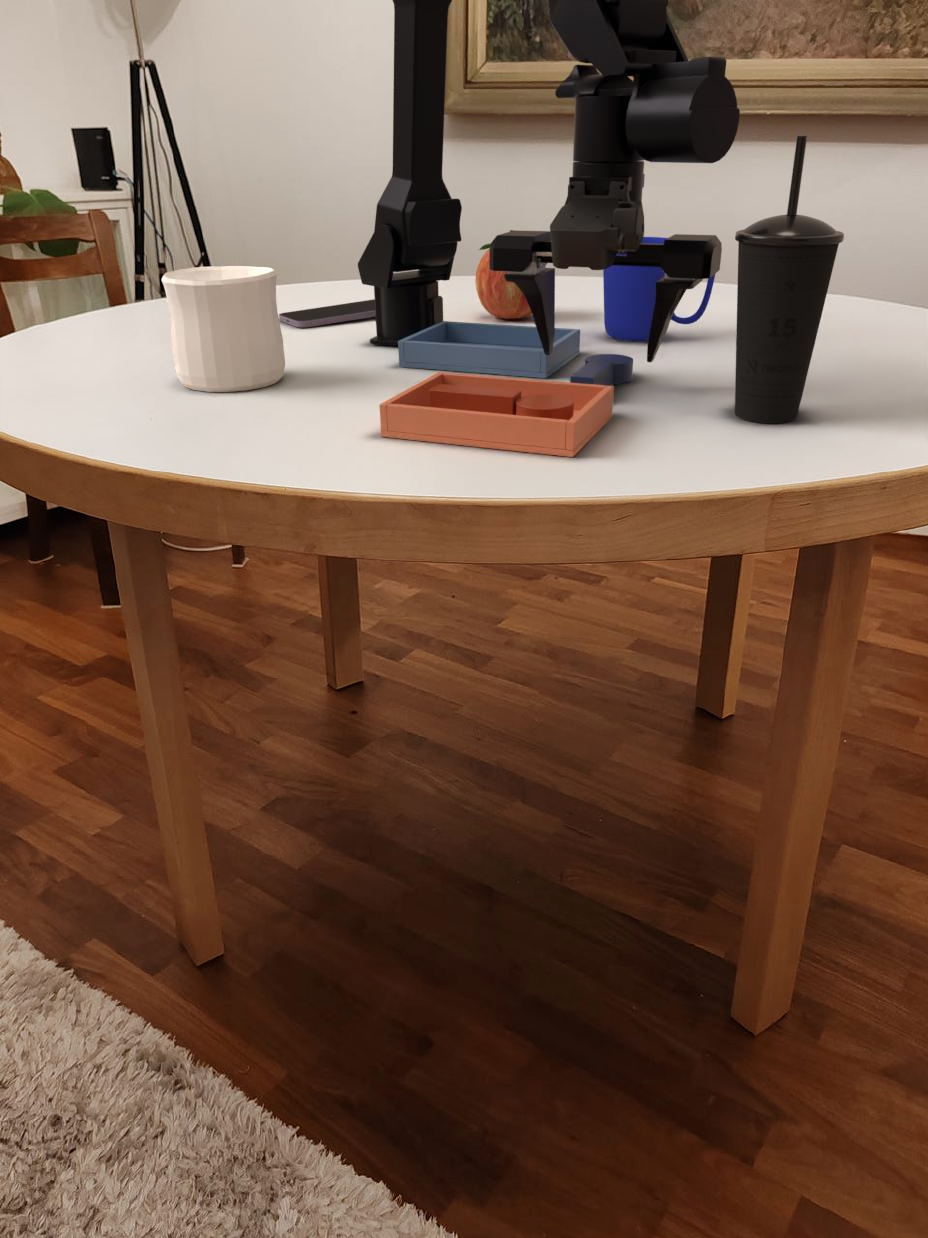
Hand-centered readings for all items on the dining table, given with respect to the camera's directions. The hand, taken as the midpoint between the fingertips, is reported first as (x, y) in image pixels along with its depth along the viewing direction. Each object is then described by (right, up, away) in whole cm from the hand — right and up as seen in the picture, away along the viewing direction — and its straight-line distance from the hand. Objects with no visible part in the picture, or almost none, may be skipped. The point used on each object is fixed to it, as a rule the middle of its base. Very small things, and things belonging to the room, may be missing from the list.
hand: (598, 357), depth 84 cm
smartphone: (-27, +14, +35) cm, 46 cm away
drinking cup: (+12, -7, -8) cm, 16 cm away
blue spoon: (0, -2, +2) cm, 3 cm away
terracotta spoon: (-9, -8, -10) cm, 15 cm away
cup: (-34, -1, +5) cm, 34 cm away
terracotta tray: (-9, -8, -9) cm, 15 cm away
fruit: (-6, +14, +33) cm, 36 cm away
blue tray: (-9, +3, +12) cm, 15 cm away
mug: (+9, +8, +21) cm, 24 cm away
